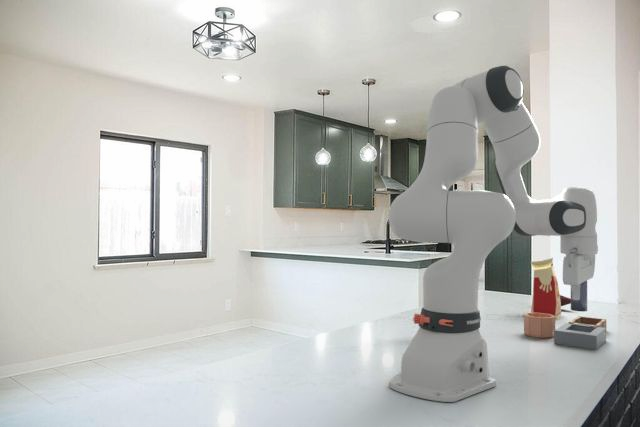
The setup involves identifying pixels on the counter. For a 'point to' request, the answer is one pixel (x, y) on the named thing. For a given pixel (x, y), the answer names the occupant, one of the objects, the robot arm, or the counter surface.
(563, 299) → the icecream
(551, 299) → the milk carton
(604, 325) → the trough
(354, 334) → the counter surface
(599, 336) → the grey rectangular frame box
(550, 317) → the cup
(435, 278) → the robot arm
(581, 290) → the cell
